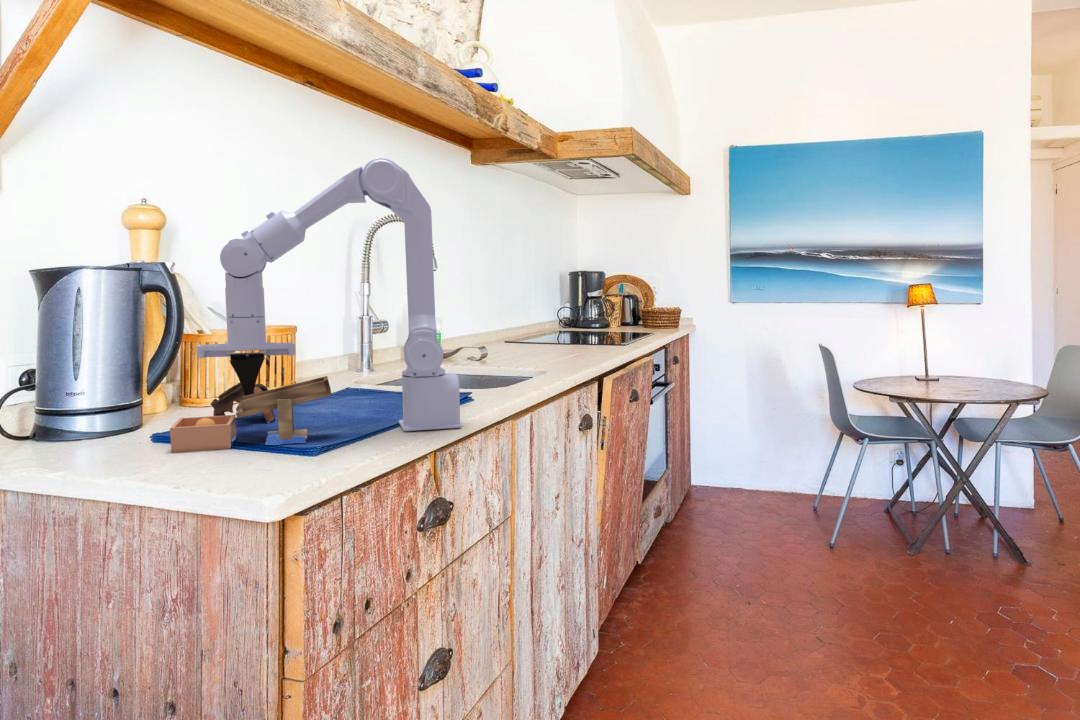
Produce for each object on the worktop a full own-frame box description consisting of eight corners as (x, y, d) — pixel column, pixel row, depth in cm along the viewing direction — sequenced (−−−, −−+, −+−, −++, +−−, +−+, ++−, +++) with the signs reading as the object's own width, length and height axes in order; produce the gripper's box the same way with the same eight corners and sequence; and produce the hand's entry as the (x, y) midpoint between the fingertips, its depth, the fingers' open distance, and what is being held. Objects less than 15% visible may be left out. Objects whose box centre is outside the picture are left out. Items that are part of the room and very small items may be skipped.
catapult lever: (330, 384, 123) (326, 371, 122) (331, 394, 112) (327, 380, 112) (241, 406, 119) (237, 393, 118) (233, 419, 108) (229, 404, 108)
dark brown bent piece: (267, 429, 123) (238, 390, 121) (223, 452, 125) (194, 413, 123) (293, 400, 134) (267, 363, 132) (253, 421, 136) (226, 385, 134)
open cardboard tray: (236, 437, 115) (235, 414, 114) (231, 448, 107) (229, 424, 107) (181, 440, 113) (179, 418, 112) (171, 452, 105) (169, 428, 105)
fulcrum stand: (307, 432, 118) (305, 391, 117) (306, 443, 110) (304, 399, 110) (268, 435, 116) (266, 393, 115) (264, 446, 109) (262, 401, 108)
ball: (199, 437, 111) (220, 432, 112) (196, 442, 108) (217, 436, 109) (193, 419, 110) (214, 413, 111) (190, 423, 108) (211, 417, 108)
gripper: (294, 314, 121) (297, 395, 123) (200, 316, 117) (204, 399, 118) (293, 317, 114) (296, 401, 116) (192, 318, 110) (197, 406, 112)
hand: (249, 400), depth 117 cm, fingers closed, pressing on catapult lever
